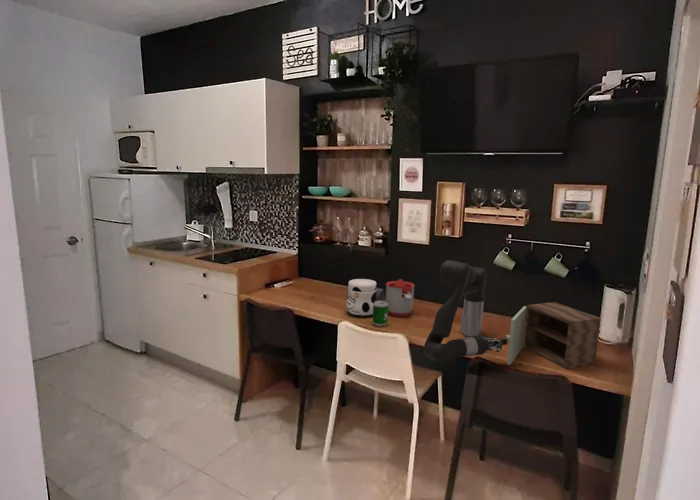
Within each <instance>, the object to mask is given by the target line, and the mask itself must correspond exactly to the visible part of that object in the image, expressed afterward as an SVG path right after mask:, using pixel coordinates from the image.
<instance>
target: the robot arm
mask: <svg viewBox="0 0 700 500" xmlns="http://www.w3.org/2000/svg"><path fill="white" fill-rule="evenodd" d="M487 273H488V272H487V269H486V268H484V267H477V266H471V265H470V264H468V263H464V262H461V261H456V260H450V259H448V260H445V261H444V262H443V263H442V264H441V265H440V268H439V277H440V280H441V281H442V282H443V283H445V284H449V285H453V286H456V288H455V290H454V292H453V293H452V295H451V296H450V298H449V299H448V300H447V301H445V303H443V304H442V305H441V307H439V309H438V310H437V312H436V313H435V317H434V321H433V324H432V325H433V326H432V329H431V331H430V332H429V334H428V336H427V338H426V340H425V342H424V346H423V352H424V356H425V357H426V358H427V359H430V360H432V361H434V362H437V363H445V362H448V361H452V360H453V359H455V358H462V357H463V358H464V357H474V356H479V355H484V354H485V353H486V352H487V351H494V350H495V352H496V353H500V352H501V351H502V348H503V346H505V345H508V340H507V339H506V337H505V338H504V337H503V338H496V337H493V336H485V335H482V332H483V330H482V329H483V317H484V304H485V294H486V293H485V291H486V284H487V275H488V274H487ZM467 286H472V287H477V288H476V289H475V290H471V291H467V292H465V290H466V287H467ZM462 298H464V299H463V311H462V313H461V320H460V332H461V333H462V334H463V335H464V336H465V337H461V338H455V339H454V338H453V339H450V340H448V341H447V343H443V341H444V339H446V338H449V336H450V335H451V331H452V328H453V324H454V320H455V317H456V313H457V311H458V307H460V303H461V300H462ZM466 336H467V337H466Z"/></svg>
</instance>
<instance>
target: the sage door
mask: <svg viewBox="0 0 700 500" xmlns="http://www.w3.org/2000/svg"><path fill="white" fill-rule="evenodd" d="M526 313H527V305H526V306H525V305H523V307H521V309H520V310H519V311H518V312H517V313H516V314H515V315H514V316H513V317H512V318H511V319H510V327H509V328H510V329H509V334H506V337H505V339H507V341H508V348H507V350H508V351H507V360H506V365H509V366H510V365H511V364H512V363H513V361H514V360H516V358H517V356H518V355H519V353H520V352H521V351H522V349H524V348H523V345H524V334H525V324H526Z"/></svg>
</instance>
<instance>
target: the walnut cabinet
mask: <svg viewBox="0 0 700 500" xmlns="http://www.w3.org/2000/svg"><path fill="white" fill-rule="evenodd" d="M526 307H527V311H526V322H525V332H524V342H523V348H522V349H525V350H528V351H529V352H532V353H534V354H535V355H538V356H539V357H542V358H543V359H545V360H547V361H549V362H551V363H553V364H555V365H558V367H561V368H563V369H565V370H569V369H574V368H575V369H576V368H581V367H586V366H590V365H596V359H597V351H598V343H599V335H600V326H601V319H602V318H601V317H600V316H596V315H593V314H590V313H587V312H584V311H582V310H578V309H575V308H572V307H570V306H567V305H564V304H561V303H559V302H555V301H551V302H543V303H541V302H540V303H533V304H527V305H526Z"/></svg>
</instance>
